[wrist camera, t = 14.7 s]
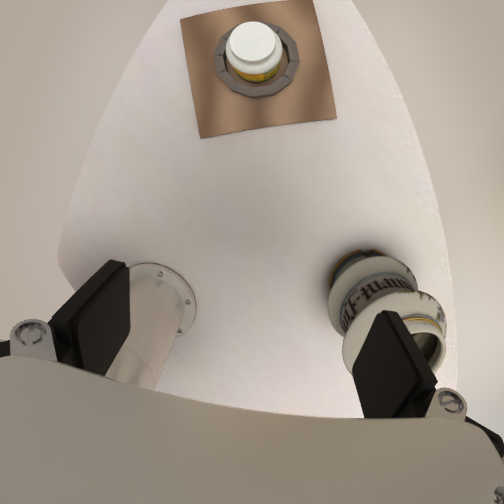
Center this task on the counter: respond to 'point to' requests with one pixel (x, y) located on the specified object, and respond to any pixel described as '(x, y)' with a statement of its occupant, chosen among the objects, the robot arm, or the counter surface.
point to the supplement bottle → (254, 52)
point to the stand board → (266, 93)
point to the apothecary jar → (383, 304)
